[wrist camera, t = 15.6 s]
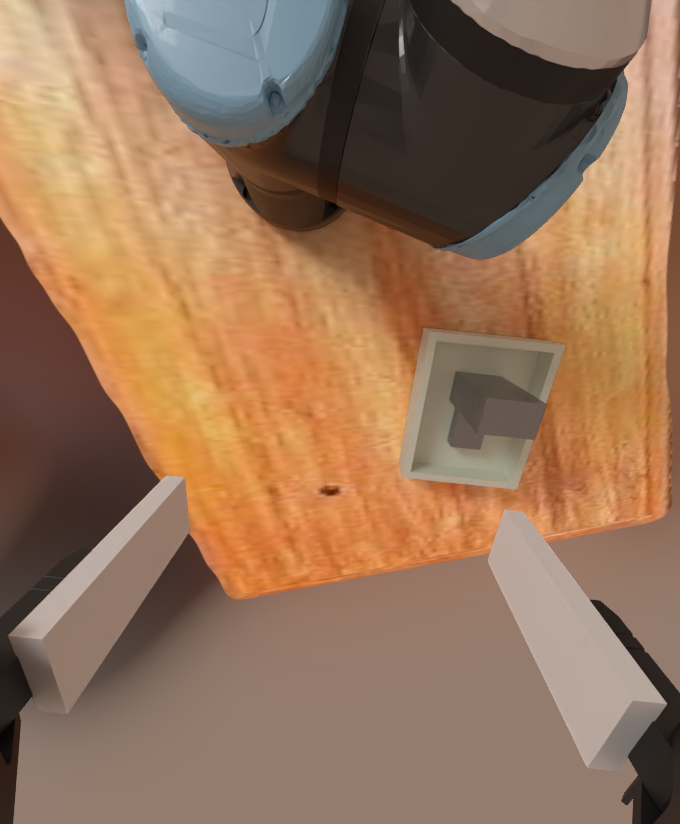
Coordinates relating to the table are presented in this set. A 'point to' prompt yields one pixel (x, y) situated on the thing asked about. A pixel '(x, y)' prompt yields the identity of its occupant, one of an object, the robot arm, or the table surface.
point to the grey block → (491, 410)
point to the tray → (433, 411)
